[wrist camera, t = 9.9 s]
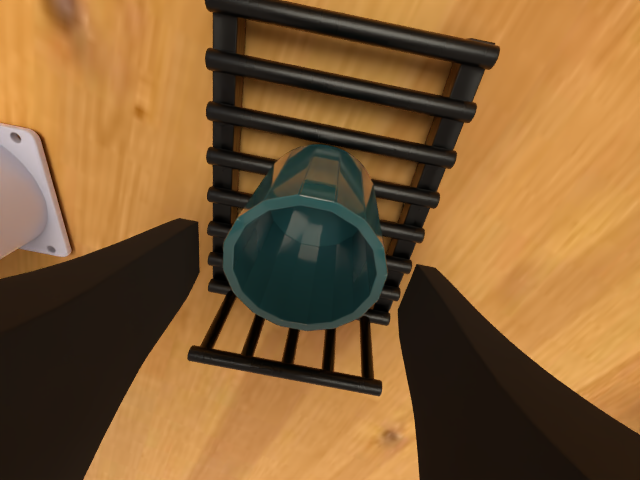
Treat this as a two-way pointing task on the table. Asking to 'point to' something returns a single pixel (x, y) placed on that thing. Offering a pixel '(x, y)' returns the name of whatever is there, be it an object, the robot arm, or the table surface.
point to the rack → (433, 158)
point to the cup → (309, 242)
